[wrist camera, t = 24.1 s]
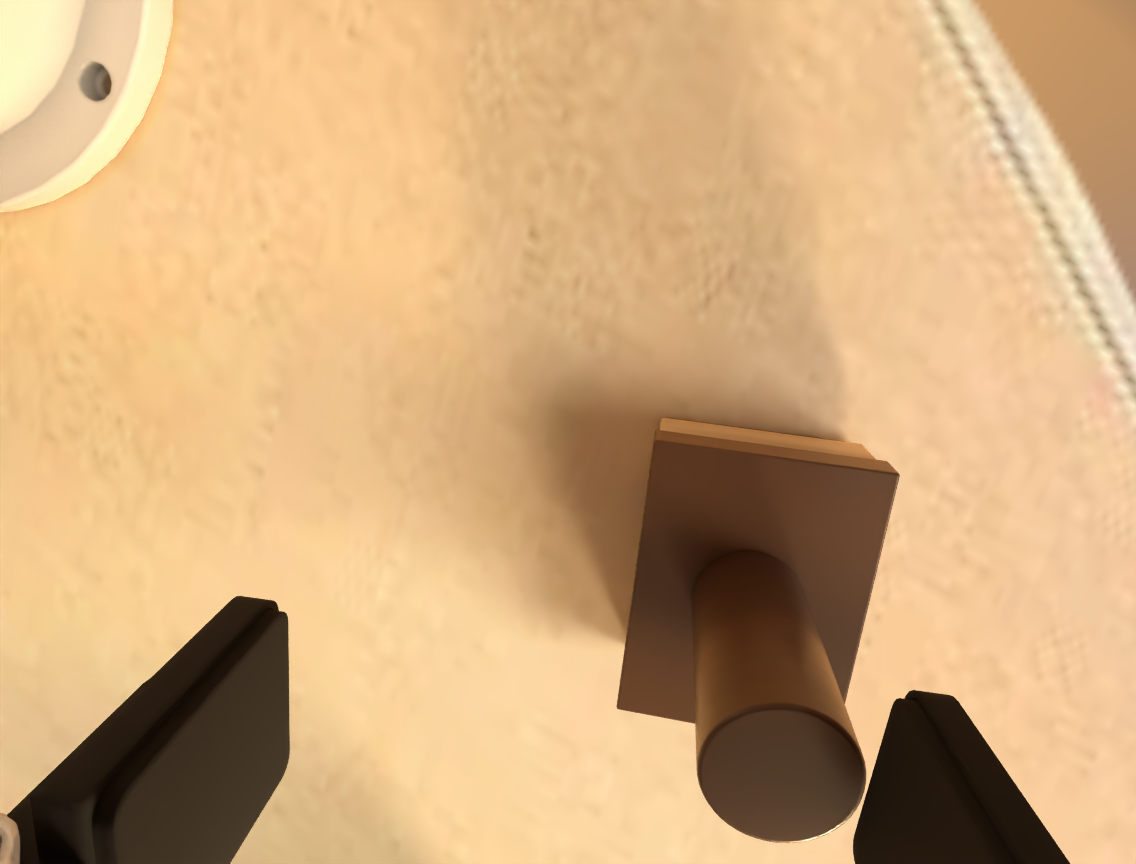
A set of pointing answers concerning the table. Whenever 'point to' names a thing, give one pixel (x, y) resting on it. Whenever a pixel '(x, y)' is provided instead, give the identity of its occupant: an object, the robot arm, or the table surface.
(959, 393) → the table surface
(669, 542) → the peg on plate
